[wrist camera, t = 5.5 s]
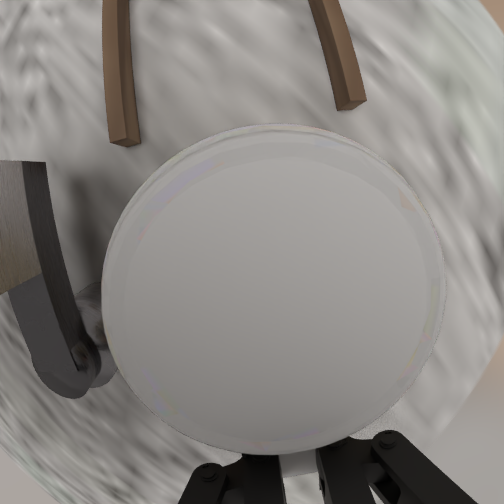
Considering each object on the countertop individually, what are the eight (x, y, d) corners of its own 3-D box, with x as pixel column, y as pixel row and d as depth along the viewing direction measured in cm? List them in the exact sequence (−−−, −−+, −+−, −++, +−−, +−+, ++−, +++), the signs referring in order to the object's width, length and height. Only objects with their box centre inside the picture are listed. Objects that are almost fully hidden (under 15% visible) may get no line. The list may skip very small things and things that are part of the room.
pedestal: (90, 350, 20) (60, 386, 15) (69, 286, 19) (29, 313, 14) (150, 345, 20) (127, 387, 15) (129, 276, 19) (97, 305, 14)
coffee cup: (157, 273, 19) (61, 385, 7) (223, 134, 17) (190, 48, 5) (289, 334, 20) (333, 481, 8) (360, 207, 18) (501, 243, 7)
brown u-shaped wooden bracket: (126, 147, 17) (110, 142, 15) (116, -19, 14) (104, -35, 12) (352, 109, 17) (366, 100, 15) (303, -49, 14) (309, -68, 12)
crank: (111, 380, 15) (56, 474, 8) (62, 379, 15) (2, 458, 8) (51, 159, 12) (-62, 155, 5) (4, 180, 12) (-99, 190, 5)
